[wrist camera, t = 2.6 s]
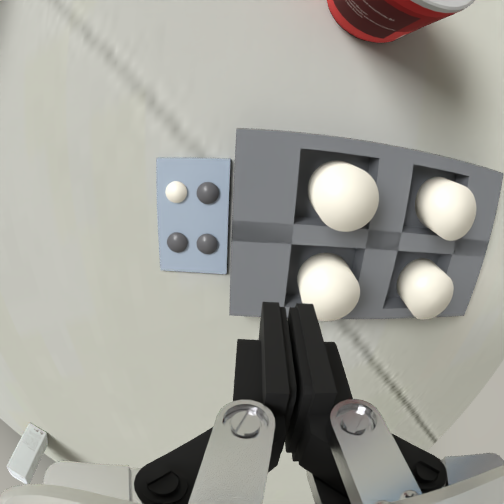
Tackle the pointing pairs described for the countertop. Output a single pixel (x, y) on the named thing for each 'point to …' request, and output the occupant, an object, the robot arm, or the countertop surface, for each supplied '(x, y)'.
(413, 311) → the button
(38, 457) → the skincare box
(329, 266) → the button
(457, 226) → the button
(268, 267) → the button board
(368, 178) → the button
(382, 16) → the canned food
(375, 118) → the countertop surface
